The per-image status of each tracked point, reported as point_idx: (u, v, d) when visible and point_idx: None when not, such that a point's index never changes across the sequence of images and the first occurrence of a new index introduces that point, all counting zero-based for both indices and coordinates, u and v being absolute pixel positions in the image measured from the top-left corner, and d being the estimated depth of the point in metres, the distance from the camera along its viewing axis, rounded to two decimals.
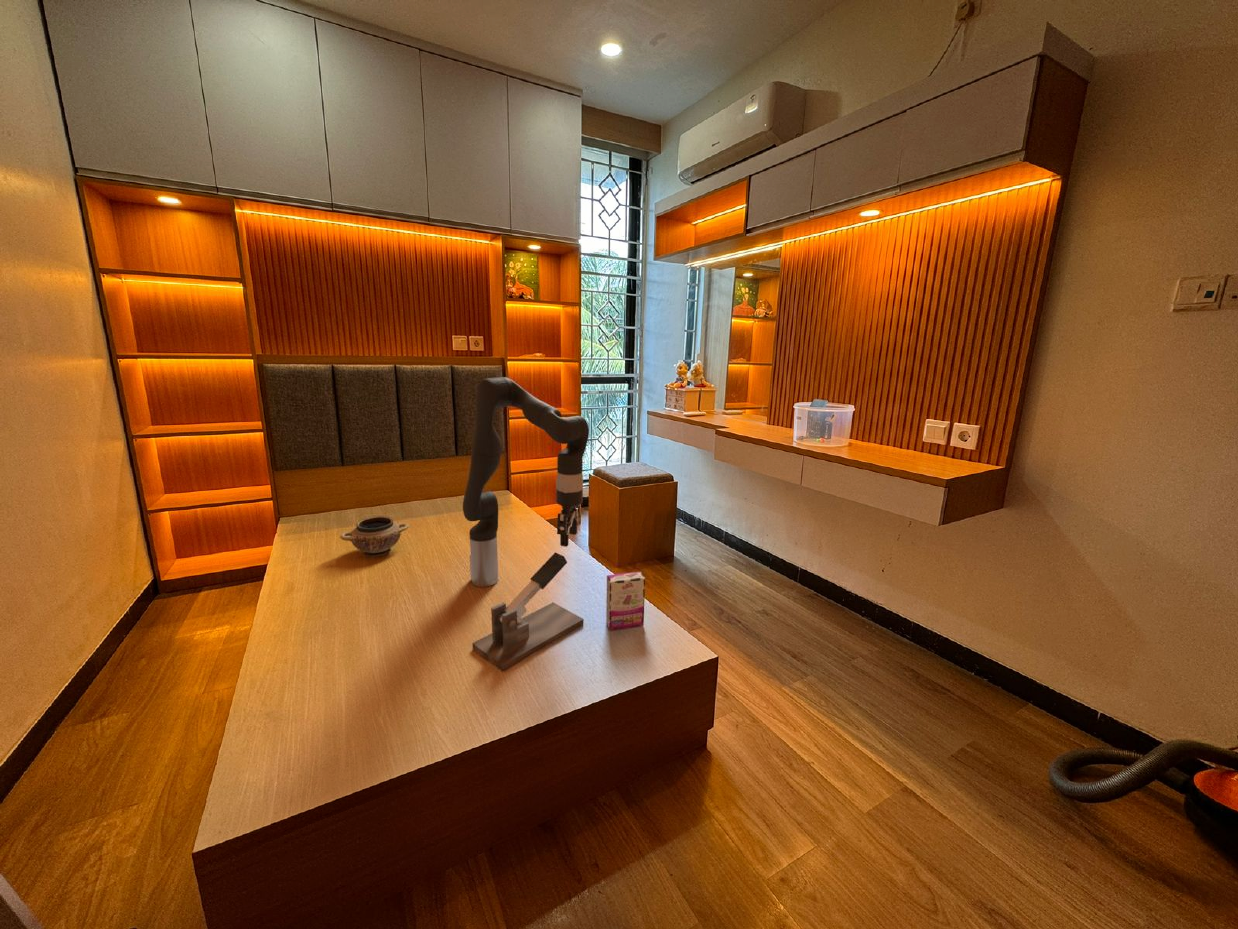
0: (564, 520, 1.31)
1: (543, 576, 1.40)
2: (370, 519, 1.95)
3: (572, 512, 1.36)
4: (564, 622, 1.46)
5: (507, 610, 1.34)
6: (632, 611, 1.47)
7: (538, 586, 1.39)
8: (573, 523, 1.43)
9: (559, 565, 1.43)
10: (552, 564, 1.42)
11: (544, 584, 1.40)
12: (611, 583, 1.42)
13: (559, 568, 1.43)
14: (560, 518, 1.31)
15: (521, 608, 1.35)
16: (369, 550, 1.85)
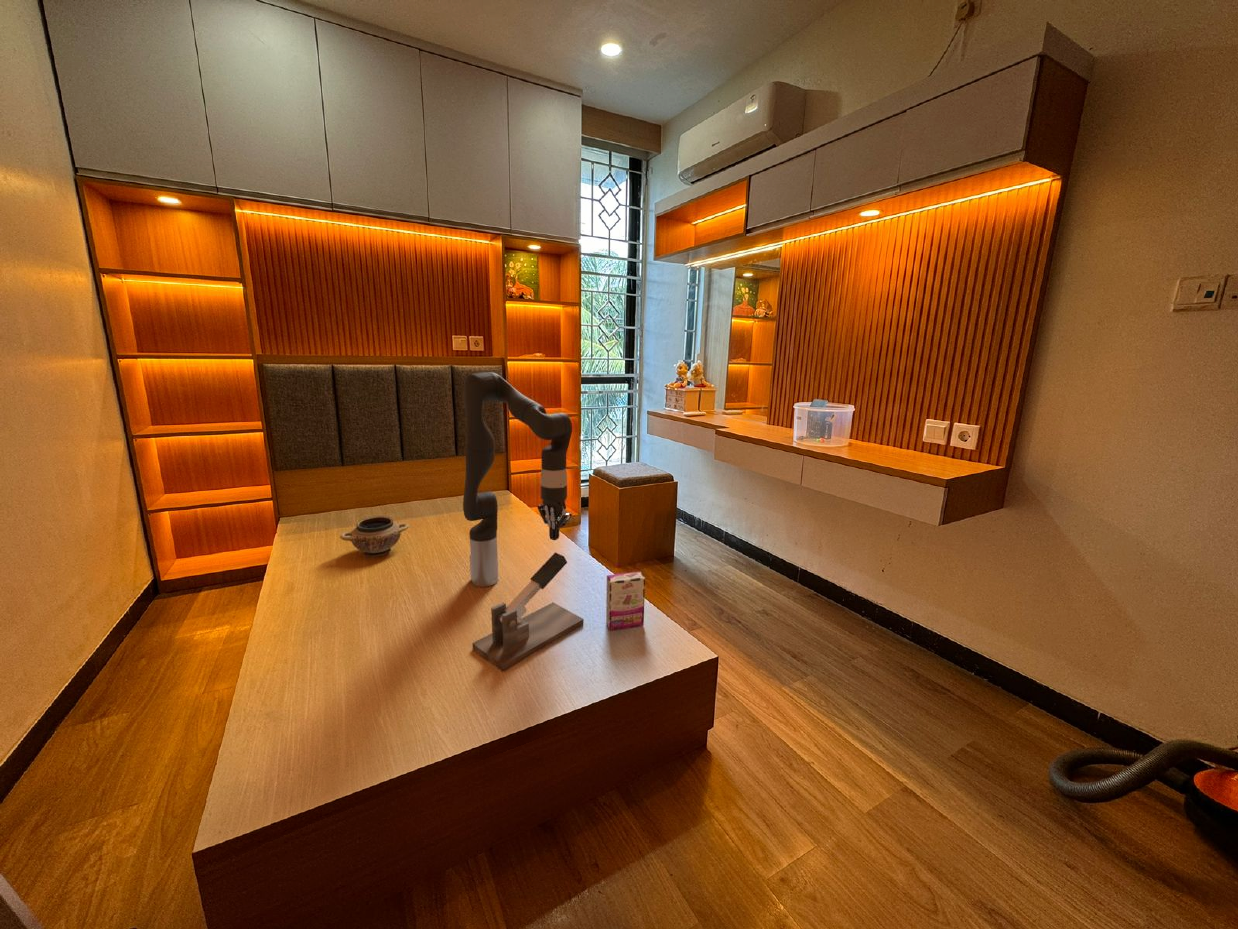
0: (568, 518, 1.37)
1: (543, 576, 1.40)
2: (370, 519, 1.95)
3: None
4: (564, 622, 1.46)
5: (507, 610, 1.34)
6: (632, 611, 1.47)
7: (538, 586, 1.39)
8: None
9: (559, 565, 1.43)
10: (552, 564, 1.42)
11: (544, 584, 1.40)
12: (611, 583, 1.42)
13: (559, 568, 1.43)
14: (566, 519, 1.36)
15: (521, 608, 1.35)
16: (369, 550, 1.85)
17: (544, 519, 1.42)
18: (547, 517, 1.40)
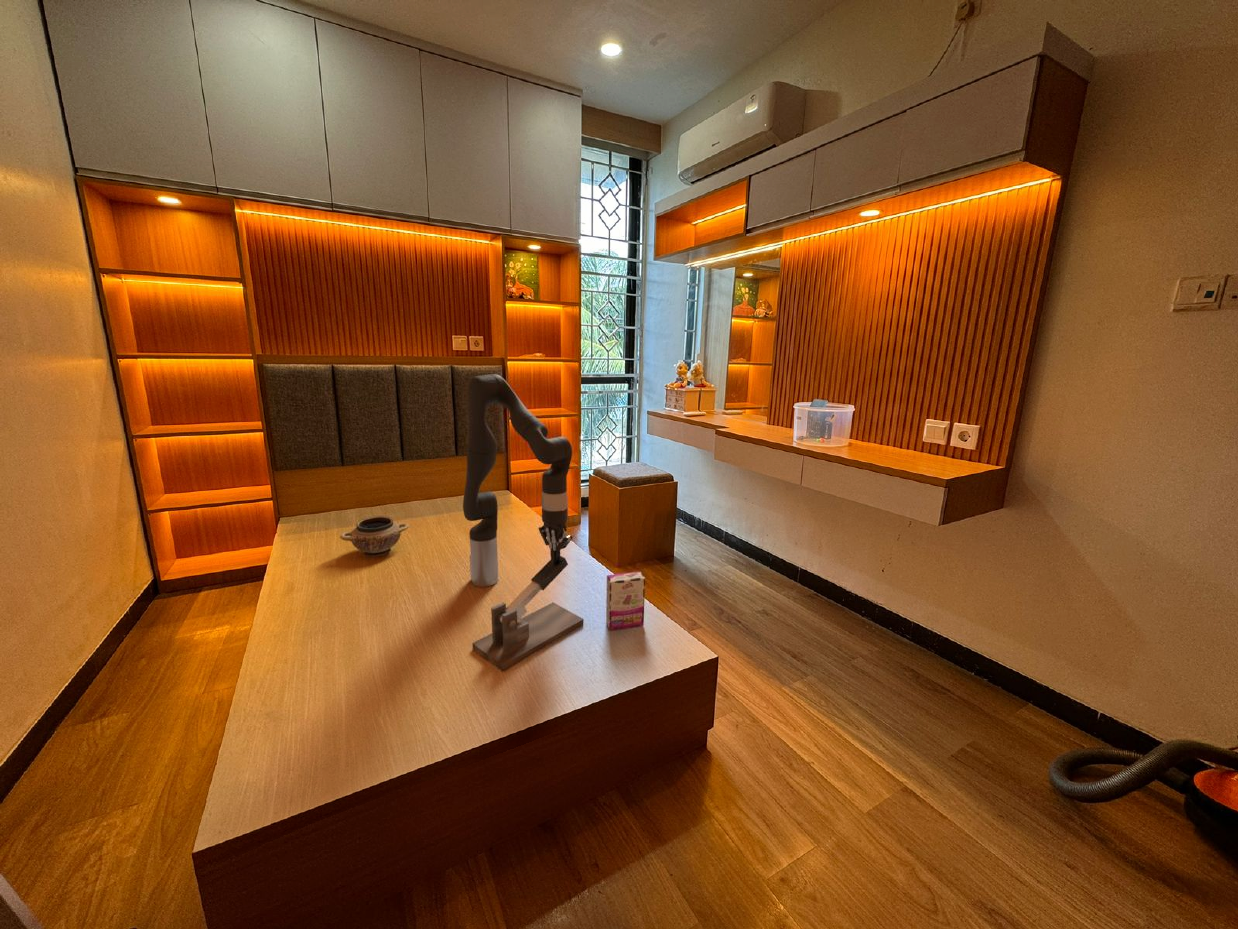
0: (569, 541, 1.39)
1: (544, 577, 1.40)
2: (370, 519, 1.95)
3: None
4: (564, 622, 1.46)
5: (507, 610, 1.34)
6: (632, 611, 1.47)
7: (539, 587, 1.39)
8: None
9: (560, 567, 1.43)
10: (553, 565, 1.43)
11: (545, 585, 1.40)
12: (611, 583, 1.42)
13: (560, 570, 1.44)
14: (567, 541, 1.38)
15: (521, 608, 1.35)
16: (369, 550, 1.85)
17: (545, 541, 1.44)
18: (548, 539, 1.42)
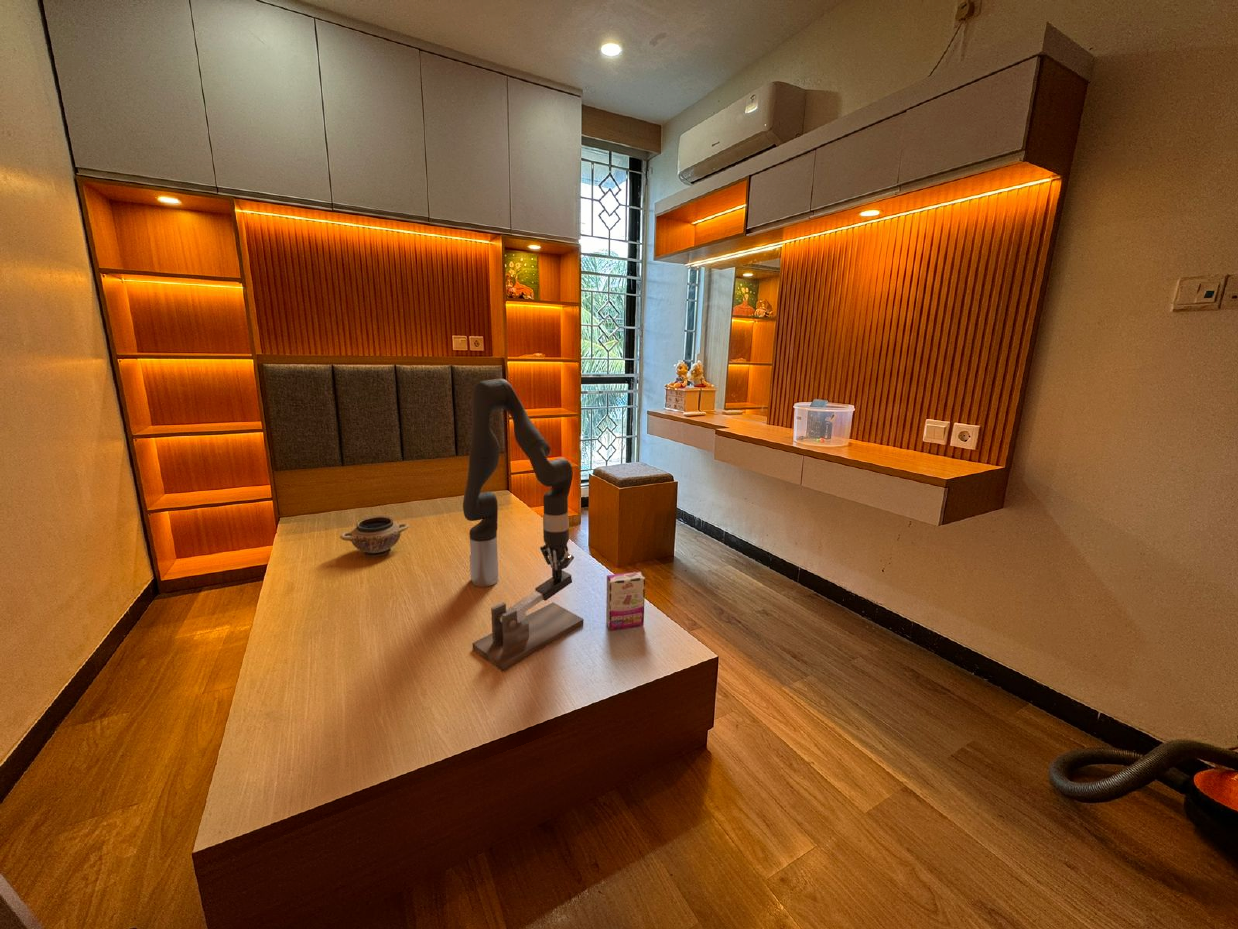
0: None
1: (548, 588, 1.42)
2: (370, 519, 1.95)
3: None
4: (564, 622, 1.46)
5: None
6: (632, 611, 1.47)
7: (542, 596, 1.41)
8: None
9: (565, 582, 1.46)
10: None
11: (548, 596, 1.42)
12: (611, 583, 1.42)
13: (564, 585, 1.46)
14: (568, 561, 1.40)
15: (522, 613, 1.36)
16: (369, 550, 1.85)
17: (547, 560, 1.45)
18: (550, 559, 1.44)
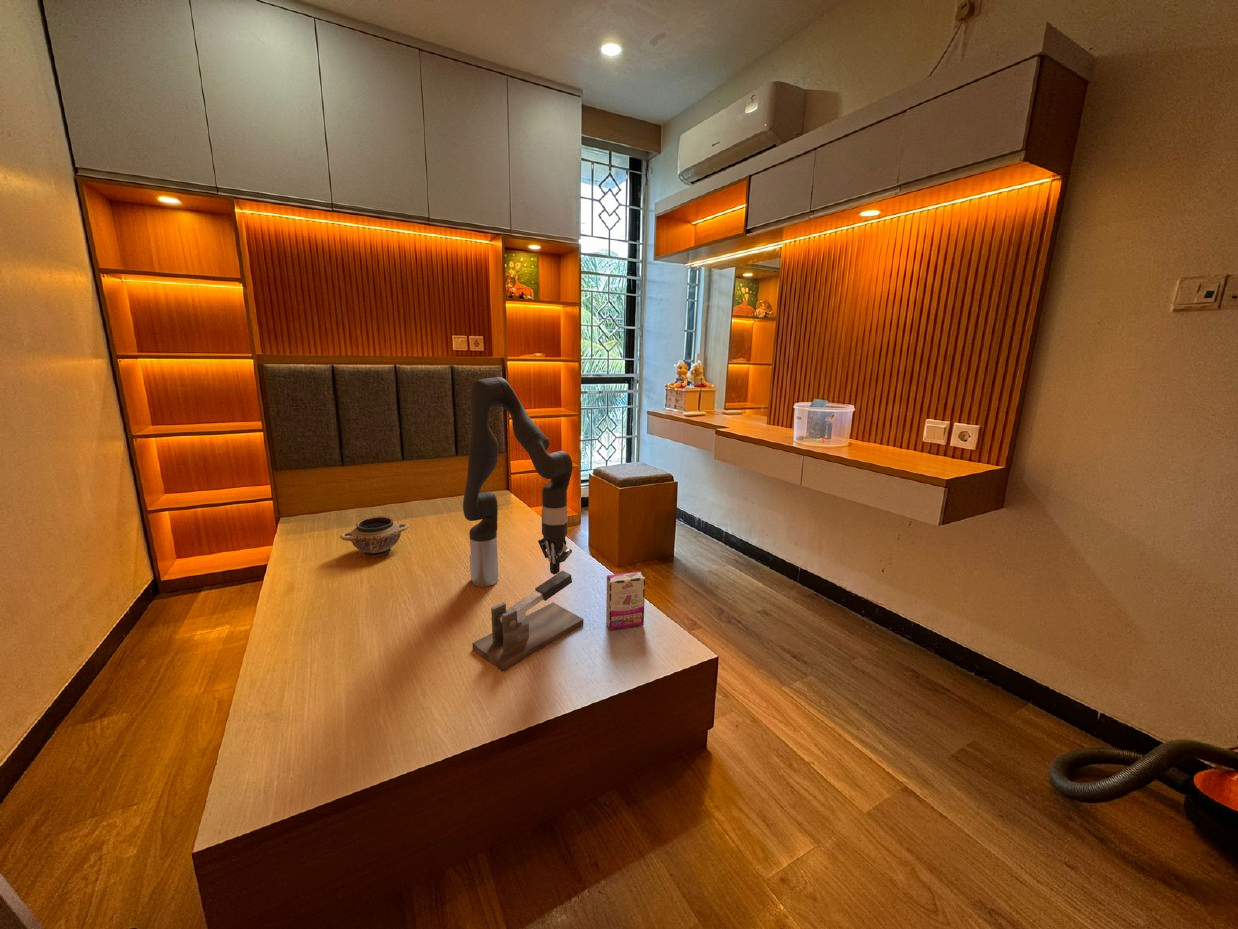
0: (569, 554, 1.40)
1: (548, 588, 1.42)
2: (370, 519, 1.95)
3: None
4: (564, 622, 1.46)
5: None
6: (632, 611, 1.47)
7: (542, 596, 1.41)
8: None
9: (565, 582, 1.46)
10: (558, 579, 1.46)
11: (548, 596, 1.42)
12: (611, 583, 1.42)
13: (564, 585, 1.46)
14: (566, 555, 1.39)
15: (522, 613, 1.36)
16: (369, 550, 1.85)
17: (545, 553, 1.44)
18: (548, 552, 1.43)
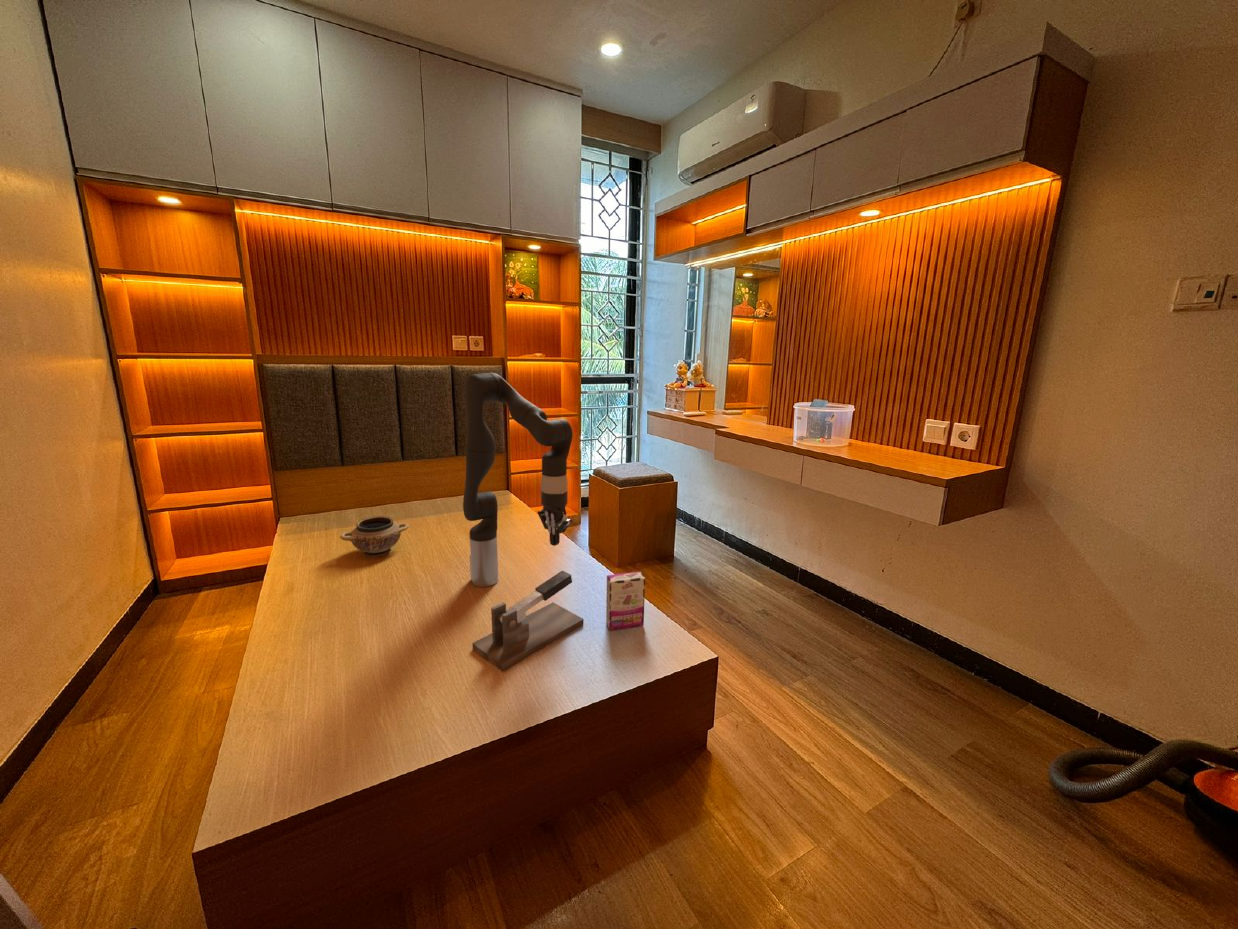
0: (569, 524, 1.38)
1: (548, 588, 1.42)
2: (370, 519, 1.95)
3: None
4: (564, 622, 1.46)
5: None
6: (632, 611, 1.47)
7: (542, 596, 1.41)
8: None
9: (565, 582, 1.46)
10: (558, 579, 1.46)
11: (548, 596, 1.42)
12: (611, 583, 1.42)
13: (564, 585, 1.46)
14: (566, 524, 1.37)
15: (522, 613, 1.36)
16: (369, 550, 1.85)
17: (544, 525, 1.42)
18: (547, 523, 1.40)
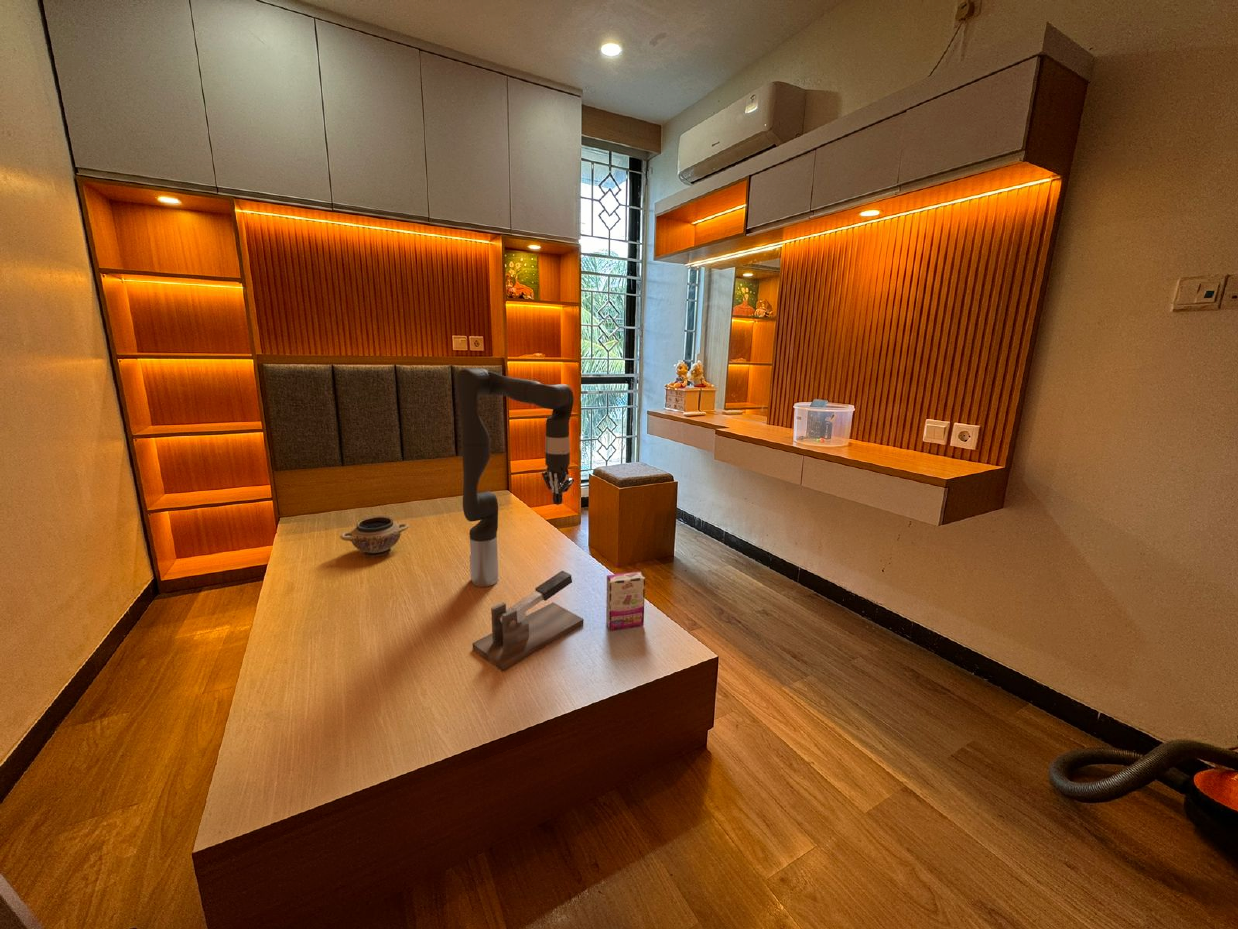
0: (571, 483, 1.47)
1: (548, 588, 1.42)
2: (370, 519, 1.95)
3: None
4: (564, 622, 1.46)
5: None
6: (632, 611, 1.47)
7: (542, 596, 1.41)
8: None
9: (565, 582, 1.46)
10: (558, 579, 1.46)
11: (548, 596, 1.42)
12: (611, 583, 1.42)
13: (564, 585, 1.46)
14: (569, 483, 1.46)
15: (522, 613, 1.36)
16: (369, 550, 1.85)
17: (548, 485, 1.51)
18: (551, 483, 1.49)
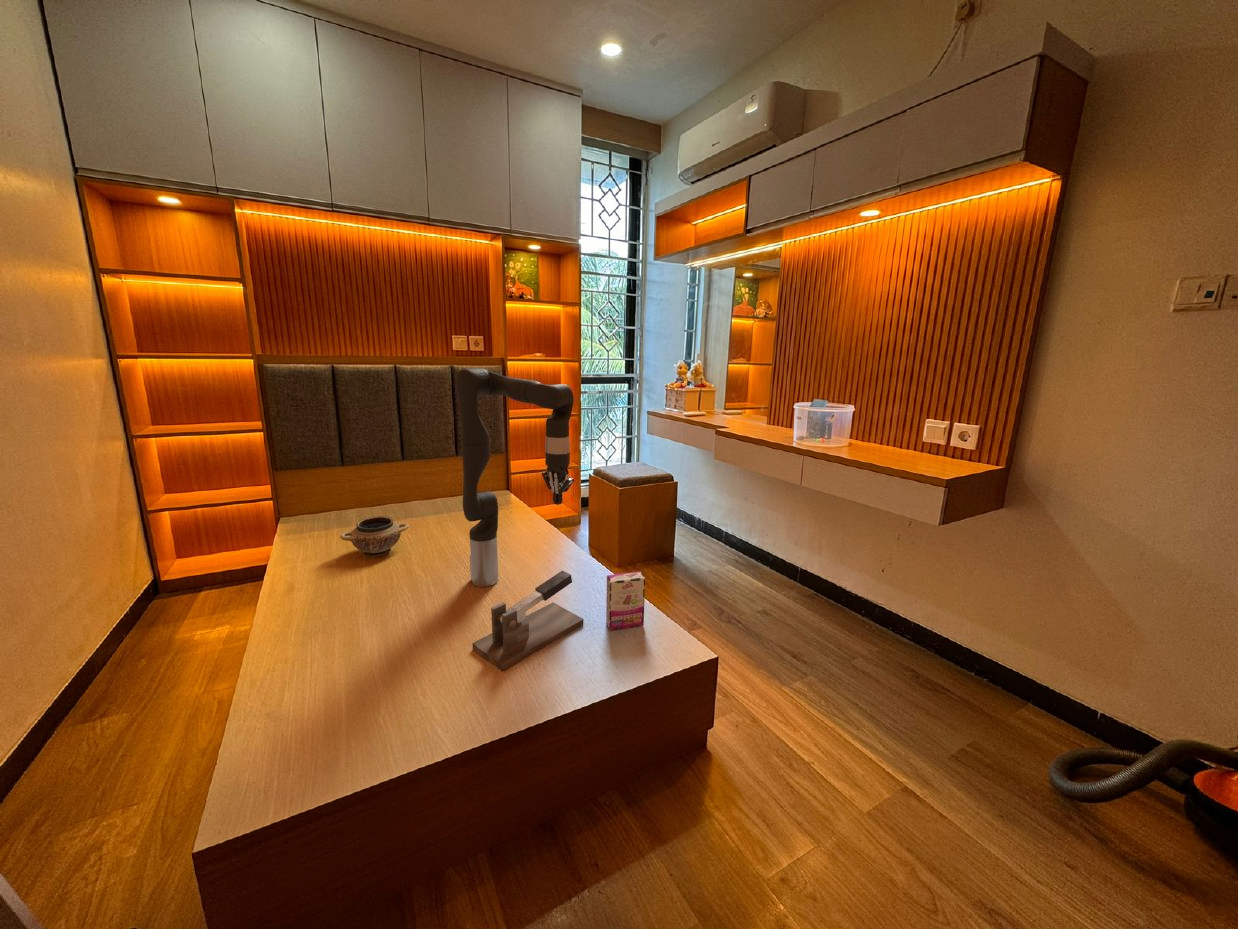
0: (571, 483, 1.47)
1: (548, 588, 1.42)
2: (370, 519, 1.95)
3: None
4: (564, 622, 1.46)
5: None
6: (632, 611, 1.47)
7: (542, 596, 1.41)
8: None
9: (565, 582, 1.46)
10: (558, 579, 1.46)
11: (548, 596, 1.42)
12: (611, 583, 1.42)
13: (564, 585, 1.46)
14: (569, 483, 1.46)
15: (522, 613, 1.36)
16: (369, 550, 1.85)
17: (548, 485, 1.51)
18: (551, 483, 1.49)
